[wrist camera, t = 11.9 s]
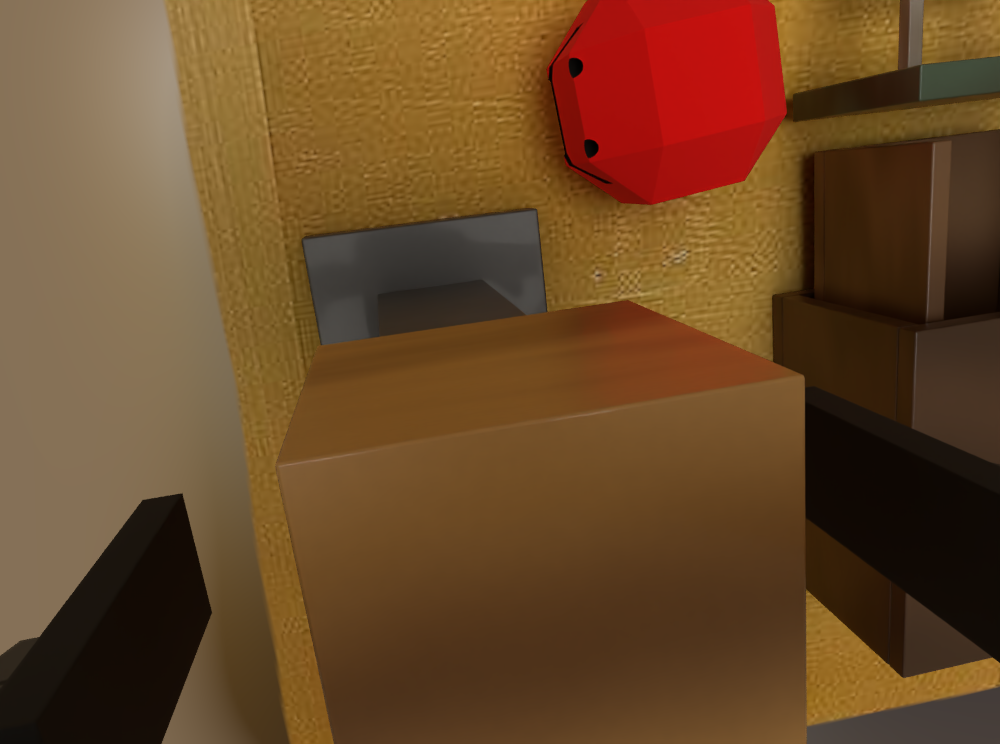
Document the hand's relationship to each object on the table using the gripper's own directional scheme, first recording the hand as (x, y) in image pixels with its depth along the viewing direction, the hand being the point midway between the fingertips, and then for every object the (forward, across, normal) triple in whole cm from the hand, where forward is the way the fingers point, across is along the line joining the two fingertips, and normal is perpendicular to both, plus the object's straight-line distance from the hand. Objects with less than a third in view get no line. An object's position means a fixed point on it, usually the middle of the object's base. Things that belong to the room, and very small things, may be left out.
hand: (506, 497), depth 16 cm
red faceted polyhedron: (+18, +10, +9) cm, 23 cm away
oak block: (+1, 0, 0) cm, 1 cm away
